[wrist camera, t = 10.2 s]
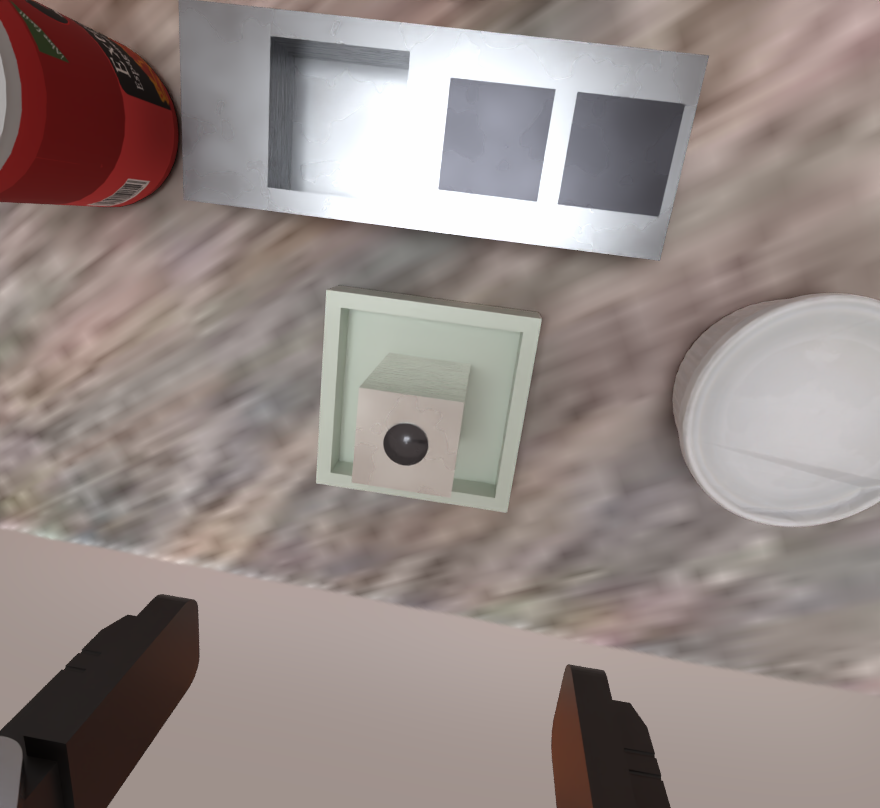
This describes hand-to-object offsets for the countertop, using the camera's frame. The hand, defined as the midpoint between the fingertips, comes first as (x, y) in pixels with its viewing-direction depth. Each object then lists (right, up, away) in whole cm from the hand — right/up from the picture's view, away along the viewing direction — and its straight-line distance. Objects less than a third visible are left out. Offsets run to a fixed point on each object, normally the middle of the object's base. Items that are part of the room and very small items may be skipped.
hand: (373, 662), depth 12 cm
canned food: (-16, +20, +17) cm, 31 cm away
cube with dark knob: (+1, +6, +19) cm, 20 cm away
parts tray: (+1, +6, +20) cm, 21 cm away
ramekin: (+19, +6, +18) cm, 27 cm away
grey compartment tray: (+1, +18, +16) cm, 24 cm away
